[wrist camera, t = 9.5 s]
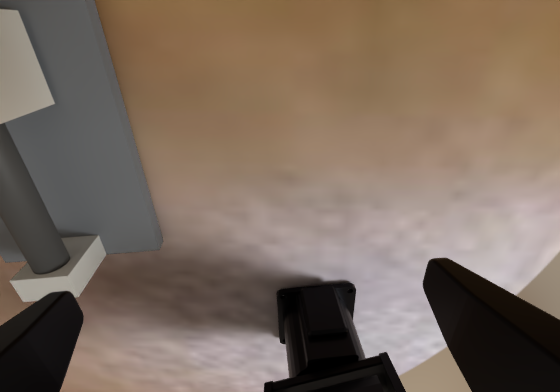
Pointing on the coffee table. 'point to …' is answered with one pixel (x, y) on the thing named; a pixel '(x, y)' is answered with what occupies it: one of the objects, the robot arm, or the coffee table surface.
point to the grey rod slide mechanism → (71, 160)
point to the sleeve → (19, 71)
